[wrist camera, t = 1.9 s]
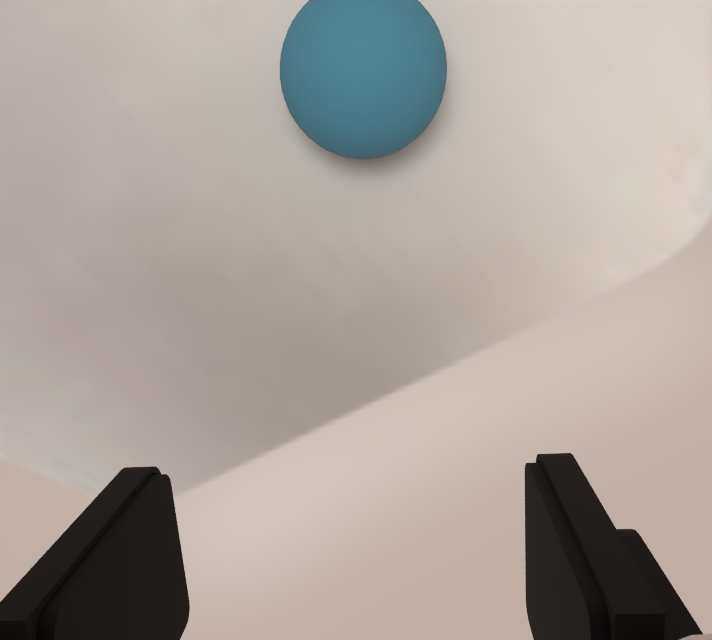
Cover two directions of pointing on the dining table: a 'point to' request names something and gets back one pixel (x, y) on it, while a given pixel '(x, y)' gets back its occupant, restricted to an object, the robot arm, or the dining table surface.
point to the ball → (363, 74)
